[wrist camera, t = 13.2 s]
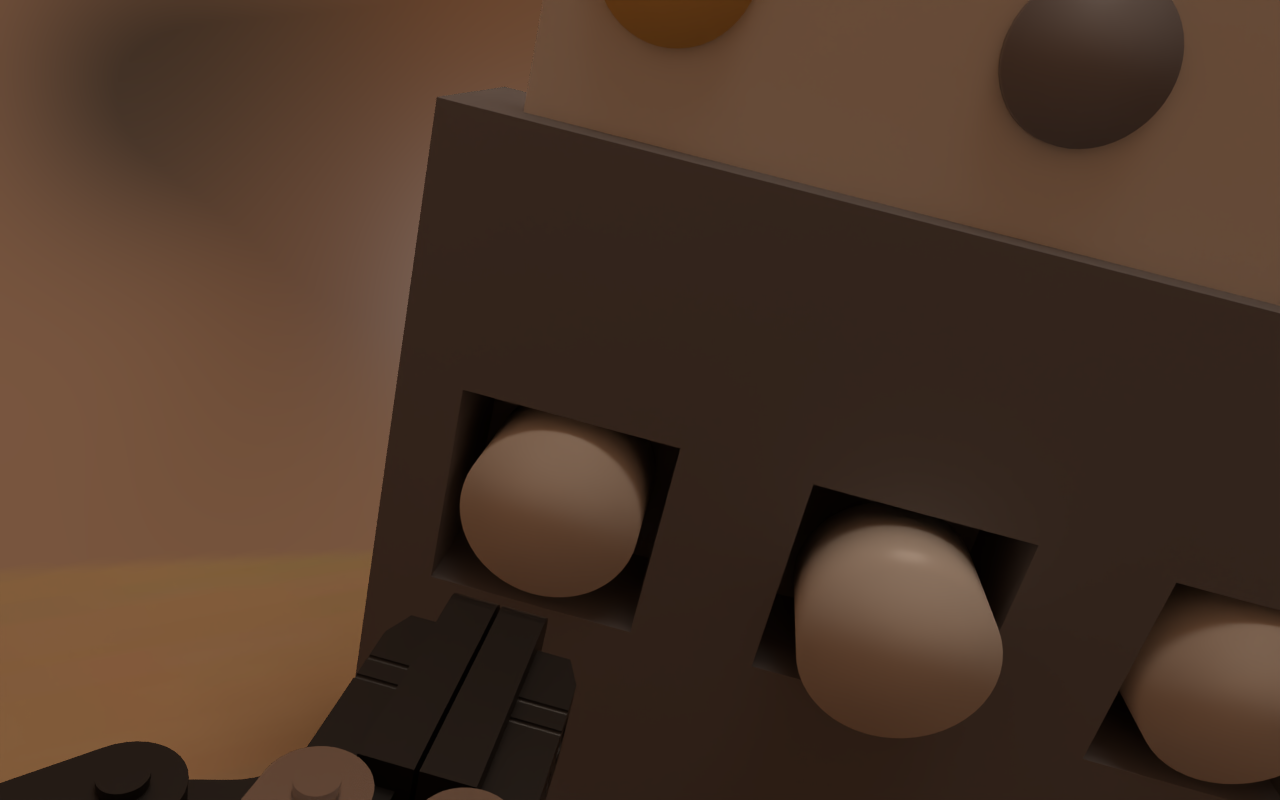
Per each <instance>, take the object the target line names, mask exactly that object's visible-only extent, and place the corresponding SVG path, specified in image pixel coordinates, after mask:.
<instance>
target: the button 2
mask: <svg viewBox="0 0 1280 800" xmlns="http://www.w3.org/2000/svg"><path fill="white" fill-rule="evenodd" d="M1119 692H1120V694H1121V695H1122V697H1123V699H1124V701H1125V703H1126V705H1127V707H1128V709H1129V711H1130V712H1131V714H1132V716H1133V718H1134V720H1135V722H1136V724H1137V726H1138V728H1139V729H1140V731H1141V733H1142V735H1143V737H1144V739H1145V741H1146V742H1147V744H1148V745H1149V747H1150V749H1151V750H1152V751H1153V752H1154V753H1155V755H1156V756H1157V757H1158V758H1159V759H1160V760H1162V761H1163V762H1164V763H1165V764H1166V765H1168V766H1169V767H1171V768H1173V769H1174V770H1176V771H1178V772H1180V773H1182V774H1184V775H1186V776H1189V777H1192V778H1195V779H1198V780H1202V781H1207V782H1212V783H1220V784H1244V783H1253V782H1259V781H1264V780H1267V779H1271V778H1275V777H1278V776H1280V611H1279V610H1276V609H1272V608H1268V607H1265V606H1261V605H1257V604H1254V603H1250V602H1246V601H1243V600H1239V599H1235V598H1231V597H1228V596H1224V595H1220V594H1217V593H1213V592H1209V591H1206V590H1202V589H1198V588H1194V587H1191V586H1187V585H1183V584H1180V583H1176V584H1175V586H1174V588H1173V590H1172V592H1171V594H1170V596H1169V597H1168V599H1167V601H1166V603H1165V605H1164V607H1163V609H1162V611H1161V612H1160V614H1159V616H1158V618H1157V620H1156V622H1155V624H1154V626H1153V627H1152V629H1151V631H1150V633H1149V635H1148V637H1147V639H1146V641H1145V643H1144V644H1143V646H1142V648H1141V650H1140V652H1139V654H1138V656H1137V658H1136V659H1135V661H1134V663H1133V665H1132V667H1131V669H1130V671H1129V673H1128V675H1127V676H1126V678H1125V680H1124V682H1123V684H1122V686H1121V688H1120V690H1119Z"/></svg>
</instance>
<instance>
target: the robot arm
mask: <svg viewBox="0 0 1280 800" xmlns="http://www.w3.org/2000/svg"><path fill="white" fill-rule="evenodd" d="M547 623H548V618H546V617H542V616H539V615H535V614H531V613H528V612H524V611H521V610H517V609H514V608H510V607H506V606H502V607H501V609H500V605H498V604H495V603H491V602H488V601H484V600H481V599H477V598H473V597H470V596H466V595H463V594H459V593H454V594H453V595H452V596H451V598H450V599H449V601H448V602H447V604H446V606H445V607H444V609H443V611H442V612H441V614H440V616H439V617H438V619H437V621H436V622H434V621H431V620H427V619H423V618H420V617H416V616H413V615H411V616H409V617H408V618H406V619H404V620H403V621H401V622H399V623H398V624H396V625H395V626H393V627H391V628H390V629H388V630H386V631H385V632H384V634H383V635H382V637H381V638H380V640H379V641H378V643H377V644H376V645H375V647H374V648H373V650H372V651H371V653H370V655H369V658H368V659H366V660H365V662H364V663H363V665H362V666H361V668H360V669H359V671H358V672H357V675H356V677H355V678H353V680H352V681H351V683H350V684H349V686H348V687H347V688H346V690H345V691H344V693H343V694H342V696H341V697H340V699H339V700H338V702H337V703H336V705H335V706H334V708H333V709H332V711H331V712H330V714H329V715H328V717H327V718H326V720H325V721H324V723H323V724H322V726H321V727H320V729H319V730H318V731H317V733H316V734H315V736H314V737H313V739H312V740H311V742H310V743H309V745H308V746H307V747H306V748H302V749H298V750H295V751H292V752H290V753H287V754H286V755H284V756H282V757H280V758H279V759H277V760H276V761H275V762H273V763H272V764H271V765H270V766H269V767H268V768H267V769H266V770H265V771H264V772H263V774H262V775H261V776H259V777H255V778H249V779H242V780H188V779H189V776H188V769H187V766H186V764H185V762H184V761H183V759H182V758H181V756H179V755H178V754H177V753H176V752H175V751H173V750H171V749H169V748H168V747H165V746H162V745H160V744H156V743H150V742H138V741H137V742H124V743H119V744H114V745H110V746H107V747H104V748H101V749H98V750H95V751H92V752H89V753H86V754H83V755H80V756H77V757H75V758H72V759H69V760H66V761H63V762H60V763H57V764H54V765H51V766H49V767H46V768H43V769H40V770H37V771H34V772H31V773H28V774H25V775H22V776H20V777H17V778H14V779H11V780H8V781H5V782H2V783H0V800H546V797H547V794H548V790H549V787H550V784H551V781H552V778H553V775H554V771H555V768H556V765H557V762H558V758H559V754H560V750H561V746H562V742H563V738H564V734H565V730H566V726H567V722H568V718H569V714H570V710H571V705H572V701H573V697H574V693H575V689H576V681H575V677H574V673H573V669H572V664H571V660H570V659H566V658H563V657H559V656H556V655H552V654H549V653H545V652H542V647H543V642H544V638H545V633H546V629H547Z"/></svg>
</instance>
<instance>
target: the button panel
mask: <svg viewBox="0 0 1280 800" xmlns="http://www.w3.org/2000/svg"><path fill="white" fill-rule="evenodd" d="M526 94H527V92H523V91H519V90H515V89H511V88H507V87H502V88H494V89H488V90H481V91H474V92H468V93H461V94H454V95H448V96H441V97H437V100H436V107H435V114H434V122H433V128H432V136H431V143H430V150H429V157H428V165H427V172H426V178H425V185H424V193H423V200H422V207H421V214H420V221H419V228H418V235H417V243H416V250H415V257H414V264H413V271H412V278H411V285H410V293H409V299H408V307H407V314H406V321H405V328H404V335H403V342H402V350H401V357H400V364H399V371H398V378H397V385H396V392H395V400H394V406H393V414H392V421H391V428H390V435H389V443H388V449H387V456H386V463H385V470H384V478H383V485H382V492H381V499H380V507H379V513H378V520H377V527H376V535H375V542H374V549H373V556H372V563H371V570H370V577H369V584H368V591H367V599H366V606H365V613H364V620H363V627H362V634H361V641H360V648H359V656H358V663H357V670H356V675H357V672H358V671H359V669H360V668H361V666H362V665H363V663H364V662H365V660H366V659H368V658H369V655H370V653H371V651H372V650H373V648H374V647H375V645H376V644H377V643H378V641H379V640H380V638H381V637H382V635H383V634H384V632H385V631H386V630H388V629H390V628H391V627H393V626H395V625H396V624H398V623H399V622H401V621H403V620H404V619H406V618H408V617H409V616H411V615H413V616H416V617H420V618H423V619H427V620H431V621H434V622H436V621H437V619H438V617H439V616H440V614H441V612H442V611H443V609H444V607H445V606H446V604H447V602H448V601H449V599H450V598H451V596H452V595H453V594H454V593H459V594H463V595H466V596H470V597H473V598H477V599H481V600H484V601H488V602H491V603H495V604H498V605H500V609H501V607H502V606H506V607H510V608H514V609H517V610H521V611H524V612H528V613H531V614H535V615H539V616H542V617H546V618H548V623H547V629H546V633H545V638H544V642H543V647H542V652H545V653H549V654H552V655H556V656H559V657H563V658H566V659H570V660H571V664H572V669H573V673H574V677H575V681H576V689H575V693H574V697H573V701H572V705H571V710H570V714H569V718H568V722H567V726H566V730H565V734H564V738H563V742H562V746H561V750H560V754H559V758H558V762H557V765H556V768H555V771H554V775H553V778H552V781H551V784H550V787H549V790H548V794H547V797H546V800H1280V776H1278V777H1275V778H1271V779H1267V780H1264V781H1259V782H1253V783H1244V784H1220V783H1212V782H1207V781H1202V780H1198V779H1195V778H1192V777H1189V776H1186V775H1184V774H1182V773H1180V772H1178V771H1176V770H1174V769H1173V768H1171V767H1169V766H1168V765H1166V764H1165V763H1164V762H1163V761H1162V760H1160V759H1159V758H1158V757H1157V756H1156V755H1155V753H1154V752H1153V751H1152V750H1151V749H1150V747H1149V745H1148V744H1147V742H1146V741H1145V739H1144V737H1143V735H1142V733H1141V731H1140V729H1139V728H1138V726H1137V724H1136V722H1135V720H1134V718H1133V716H1132V714H1131V712H1130V711H1129V709H1128V707H1127V705H1126V703H1125V701H1124V699H1123V697H1122V695H1121V694H1120V692H1119V690H1120V688H1121V686H1122V684H1123V682H1124V680H1125V678H1126V676H1127V675H1128V673H1129V671H1130V669H1131V667H1132V665H1133V663H1134V661H1135V659H1136V658H1137V656H1138V654H1139V652H1140V650H1141V648H1142V646H1143V644H1144V643H1145V641H1146V639H1147V637H1148V635H1149V633H1150V631H1151V629H1152V627H1153V626H1154V624H1155V622H1156V620H1157V618H1158V616H1159V614H1160V612H1161V611H1162V609H1163V607H1164V605H1165V603H1166V601H1167V599H1168V597H1169V596H1170V594H1171V592H1172V590H1173V588H1174V586H1175V584H1176V583H1180V584H1183V585H1187V586H1191V587H1194V588H1198V589H1202V590H1206V591H1209V592H1213V593H1217V594H1220V595H1224V596H1228V597H1231V598H1235V599H1239V600H1243V601H1246V602H1250V603H1254V604H1257V605H1261V606H1265V607H1268V608H1272V609H1276V610H1279V611H1280V306H1279V305H1275V304H1271V303H1267V302H1263V301H1260V300H1256V299H1252V298H1248V297H1244V296H1240V295H1236V294H1232V293H1228V292H1224V291H1220V290H1217V289H1213V288H1209V287H1205V286H1201V285H1197V284H1193V283H1189V282H1185V281H1181V280H1177V279H1174V278H1170V277H1166V276H1162V275H1158V274H1154V273H1150V272H1146V271H1142V270H1138V269H1135V268H1131V267H1127V266H1123V265H1119V264H1115V263H1111V262H1107V261H1103V260H1099V259H1095V258H1092V257H1088V256H1084V255H1080V254H1076V253H1072V252H1068V251H1064V250H1060V249H1056V248H1052V247H1049V246H1045V245H1041V244H1037V243H1033V242H1029V241H1025V240H1021V239H1017V238H1013V237H1010V236H1006V235H1002V234H998V233H994V232H990V231H986V230H982V229H978V228H974V227H970V226H967V225H963V224H959V223H955V222H951V221H947V220H943V219H939V218H935V217H931V216H928V215H924V214H920V213H916V212H912V211H908V210H904V209H900V208H896V207H892V206H888V205H885V204H881V203H877V202H873V201H869V200H865V199H861V198H857V197H853V196H849V195H845V194H842V193H838V192H834V191H830V190H826V189H822V188H818V187H814V186H810V185H806V184H803V183H799V182H795V181H791V180H787V179H783V178H779V177H775V176H771V175H767V174H763V173H760V172H756V171H752V170H748V169H744V168H740V167H736V166H732V165H728V164H724V163H720V162H717V161H713V160H709V159H705V158H701V157H697V156H693V155H689V154H685V153H681V152H678V151H674V150H670V149H666V148H662V147H658V146H654V145H650V144H646V143H642V142H638V141H635V140H631V139H627V138H623V137H619V136H615V135H611V134H607V133H603V132H599V131H596V130H592V129H588V128H584V127H580V126H576V125H572V124H568V123H564V122H560V121H556V120H553V119H549V118H545V117H541V116H537V115H533V114H529V113H525V112H523V111H524V105H525V100H526ZM519 405H521V406H525V407H529V408H532V409H536V410H540V411H543V412H547V413H551V414H555V415H558V416H562V417H566V418H569V419H573V420H577V421H580V422H584V423H588V424H591V425H595V426H599V427H603V428H606V429H610V430H614V431H617V432H621V433H625V434H628V435H632V436H636V437H640V438H643V439H647V440H649V441H650V444H651V446H652V450H653V454H654V461H655V477H654V482H653V487H652V490H651V494H650V497H649V501H648V504H647V508H646V511H645V515H644V519H643V522H642V526H641V529H640V533H639V536H638V540H637V543H636V546H635V549H634V552H633V554H632V556H631V558H630V560H629V562H628V563H627V564H626V566H625V567H624V568H623V570H622V571H621V572H620V573H619V574H618V575H617V576H616V577H615V578H614V579H612V580H611V581H610V582H608V583H607V584H605V585H604V586H602V587H600V588H598V589H596V590H594V591H591V592H589V593H585V594H581V595H578V596H571V597H547V596H540V595H536V594H531V593H528V592H526V591H523V590H520V589H518V588H516V587H514V586H511V585H510V584H508V583H506V582H505V581H503V580H501V579H500V578H499V577H497V576H496V575H495V574H493V573H492V572H491V571H490V570H489V569H488V568H487V567H486V566H485V565H484V564H483V563H482V562H481V561H480V559H479V558H478V557H477V556H476V554H475V553H474V551H473V550H472V548H471V546H470V545H469V542H468V540H467V538H466V536H465V533H464V530H463V527H462V522H461V517H460V497H461V492H462V488H463V484H464V482H465V479H466V477H467V474H468V473H469V471H470V470H471V468H472V466H473V465H474V463H475V462H476V461H477V459H478V458H479V457H480V455H481V454H482V452H483V451H484V450H485V448H486V447H487V446H488V444H489V443H490V441H491V440H492V439H493V437H494V436H495V435H496V433H497V432H498V430H499V429H500V428H501V426H502V425H503V424H504V422H505V421H506V419H507V418H508V417H509V415H510V414H511V413H512V412H513V411H514V410H515V409H516V408H517V407H518V406H519ZM873 502H880V503H884V504H887V505H891V506H895V507H899V508H902V509H906V510H910V511H913V512H917V513H921V514H924V515H928V516H932V517H935V518H939V519H942V520H944V521H945V522H946V523H947V524H948V525H950V526H951V527H952V528H953V529H954V530H955V531H956V533H957V534H958V535H959V536H960V537H961V539H962V540H963V542H964V543H965V545H966V547H967V549H968V551H969V553H970V556H971V558H972V561H973V564H974V566H975V569H976V571H977V574H978V577H979V579H980V582H981V585H982V587H983V590H984V593H985V595H986V598H987V600H988V603H989V606H990V608H991V611H992V614H993V616H994V619H995V622H996V624H997V627H998V630H999V633H1000V636H1001V640H1002V648H1003V661H1002V667H1001V672H1000V675H999V678H998V681H997V683H996V685H995V687H994V689H993V691H992V692H991V694H990V696H989V697H988V698H987V699H986V701H985V702H984V703H983V704H982V705H981V706H980V707H979V708H978V709H977V710H976V711H975V712H974V713H973V714H971V715H970V716H969V717H968V718H966V719H965V720H963V721H961V722H960V723H958V724H956V725H955V726H952V727H950V728H948V729H946V730H943V731H940V732H937V733H934V734H931V735H926V736H921V737H913V738H886V737H878V736H874V735H869V734H865V733H862V732H859V731H856V730H854V729H851V728H849V727H847V726H845V725H843V724H841V723H840V722H838V721H836V720H835V719H833V718H832V717H830V716H829V715H828V714H827V713H825V712H824V711H823V710H822V709H821V708H820V707H819V706H818V705H817V704H816V703H815V702H814V701H813V699H812V698H811V697H810V695H809V694H808V692H807V691H806V689H805V687H804V685H803V683H802V681H801V678H800V675H799V672H798V667H797V663H796V638H795V606H794V569H795V564H796V560H797V557H798V554H799V552H800V550H801V548H802V546H803V544H804V543H805V541H806V539H807V538H808V537H809V536H810V534H811V533H812V532H813V531H814V530H815V529H816V528H817V527H818V526H819V525H820V524H821V523H823V522H824V521H826V520H827V519H828V518H830V517H831V516H833V515H835V514H837V513H839V512H841V511H843V510H845V509H848V508H851V507H854V506H857V505H861V504H866V503H873Z"/></svg>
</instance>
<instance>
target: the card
mask: <svg viewBox="0 0 1280 800" xmlns="http://www.w3.org/2000/svg"><path fill="white" fill-rule="evenodd" d="M523 112H525V113H529V114H533V115H537V116H541V117H545V118H549V119H553V120H556V121H560V122H564V123H568V124H572V125H576V126H580V127H584V128H588V129H592V130H596V131H599V132H603V133H607V134H611V135H615V136H619V137H623V138H627V139H631V140H635V141H638V142H642V143H646V144H650V145H654V146H658V147H662V148H666V149H670V150H674V151H678V152H681V153H685V154H689V155H693V156H697V157H701V158H705V159H709V160H713V161H717V162H720V163H724V164H728V165H732V166H736V167H740V168H744V169H748V170H752V171H756V172H760V173H763V174H767V175H771V176H775V177H779V178H783V179H787V180H791V181H795V182H799V183H803V184H806V185H810V186H814V187H818V188H822V189H826V190H830V191H834V192H838V193H842V194H845V195H849V196H853V197H857V198H861V199H865V200H869V201H873V202H877V203H881V204H885V205H888V206H892V207H896V208H900V209H904V210H908V211H912V212H916V213H920V214H924V215H928V216H931V217H935V218H939V219H943V220H947V221H951V222H955V223H959V224H963V225H967V226H970V227H974V228H978V229H982V230H986V231H990V232H994V233H998V234H1002V235H1006V236H1010V237H1013V238H1017V239H1021V240H1025V241H1029V242H1033V243H1037V244H1041V245H1045V246H1049V247H1052V248H1056V249H1060V250H1064V251H1068V252H1072V253H1076V254H1080V255H1084V256H1088V257H1092V258H1095V259H1099V260H1103V261H1107V262H1111V263H1115V264H1119V265H1123V266H1127V267H1131V268H1135V269H1138V270H1142V271H1146V272H1150V273H1154V274H1158V275H1162V276H1166V277H1170V278H1174V279H1177V280H1181V281H1185V282H1189V283H1193V284H1197V285H1201V286H1205V287H1209V288H1213V289H1217V290H1220V291H1224V292H1228V293H1232V294H1236V295H1240V296H1244V297H1248V298H1252V299H1256V300H1260V301H1263V302H1267V303H1271V304H1275V305H1279V306H1280V0H543V3H542V9H541V15H540V20H539V25H538V31H537V37H536V43H535V48H534V54H533V60H532V65H531V72H530V77H529V83H528V88H527V94H526V100H525V105H524V111H523Z"/></svg>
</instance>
